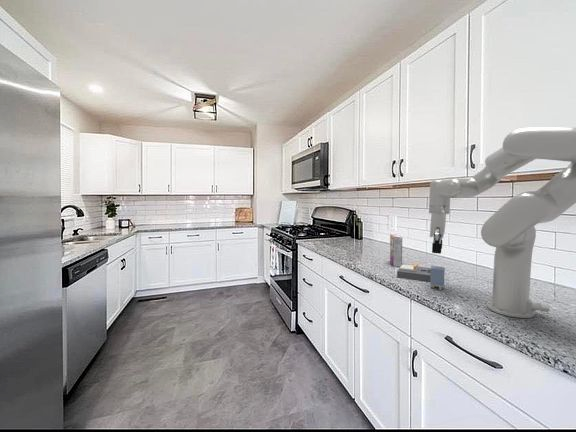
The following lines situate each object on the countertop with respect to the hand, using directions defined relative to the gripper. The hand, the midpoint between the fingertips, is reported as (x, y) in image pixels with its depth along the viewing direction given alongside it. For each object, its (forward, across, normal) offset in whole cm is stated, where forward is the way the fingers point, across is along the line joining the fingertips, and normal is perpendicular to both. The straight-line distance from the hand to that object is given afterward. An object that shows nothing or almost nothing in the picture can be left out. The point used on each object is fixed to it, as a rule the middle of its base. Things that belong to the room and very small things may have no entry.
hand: (437, 250), depth 115 cm
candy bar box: (+16, -32, -21) cm, 42 cm away
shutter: (+13, -14, -12) cm, 22 cm away
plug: (+16, 0, +1) cm, 16 cm away
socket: (+16, -14, -8) cm, 22 cm away
